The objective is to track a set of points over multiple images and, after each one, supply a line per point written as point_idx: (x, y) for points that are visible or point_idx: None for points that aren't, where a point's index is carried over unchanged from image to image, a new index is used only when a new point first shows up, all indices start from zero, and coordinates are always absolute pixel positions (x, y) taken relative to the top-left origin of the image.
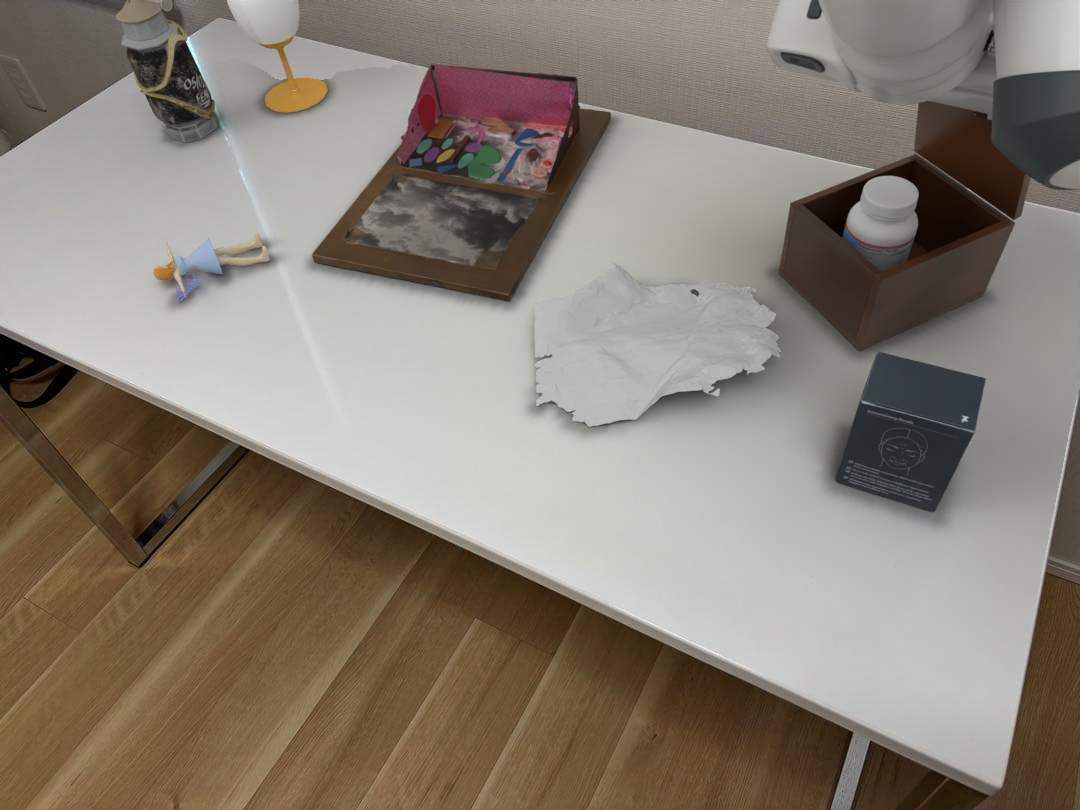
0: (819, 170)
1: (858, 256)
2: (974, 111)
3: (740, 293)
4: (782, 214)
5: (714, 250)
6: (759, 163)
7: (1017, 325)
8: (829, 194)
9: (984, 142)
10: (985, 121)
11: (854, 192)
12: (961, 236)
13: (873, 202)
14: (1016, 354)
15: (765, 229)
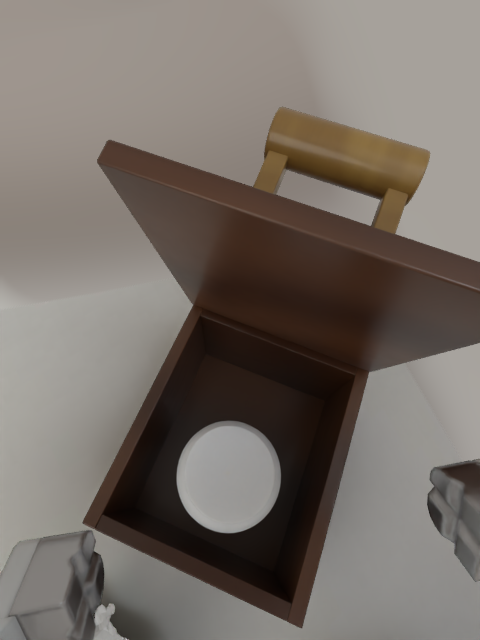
0: (83, 303)
1: (242, 589)
2: (470, 573)
3: (97, 632)
4: (77, 401)
5: (22, 526)
6: (9, 329)
7: (383, 420)
8: (129, 459)
9: (317, 329)
10: (318, 318)
11: (157, 412)
12: (297, 374)
13: (220, 521)
14: (407, 464)
15: (69, 441)
